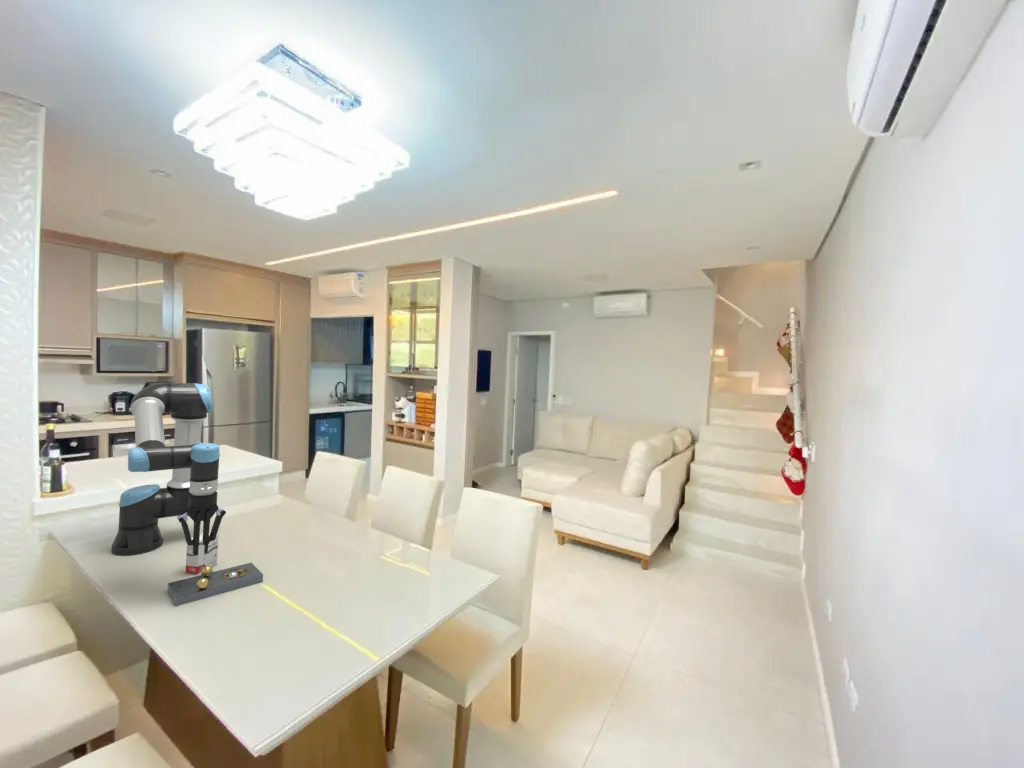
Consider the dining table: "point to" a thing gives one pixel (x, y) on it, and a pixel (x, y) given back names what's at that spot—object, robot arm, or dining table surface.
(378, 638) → the dining table surface
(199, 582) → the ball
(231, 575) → the steel ball
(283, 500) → the dining table surface
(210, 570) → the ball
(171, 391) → the robot arm
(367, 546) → the dining table surface
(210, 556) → the ink box
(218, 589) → the plate
